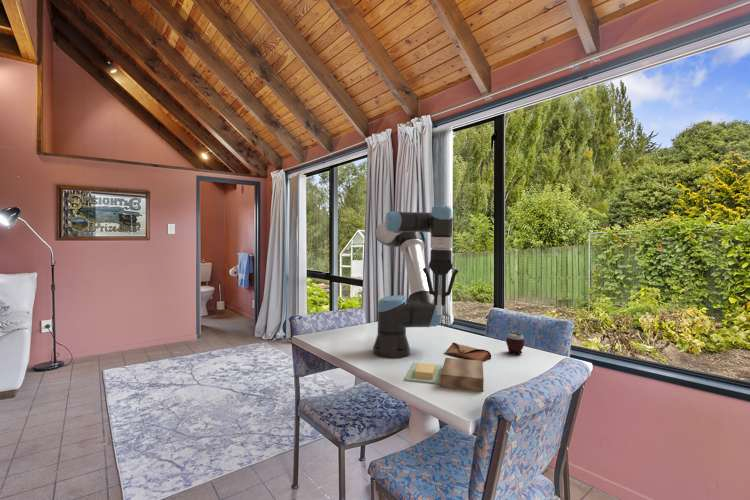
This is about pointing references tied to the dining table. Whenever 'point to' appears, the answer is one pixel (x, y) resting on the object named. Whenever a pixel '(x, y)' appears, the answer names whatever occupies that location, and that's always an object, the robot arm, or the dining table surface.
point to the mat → (435, 379)
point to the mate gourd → (515, 341)
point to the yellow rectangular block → (425, 371)
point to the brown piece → (462, 374)
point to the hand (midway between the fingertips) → (439, 314)
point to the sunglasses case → (468, 352)
